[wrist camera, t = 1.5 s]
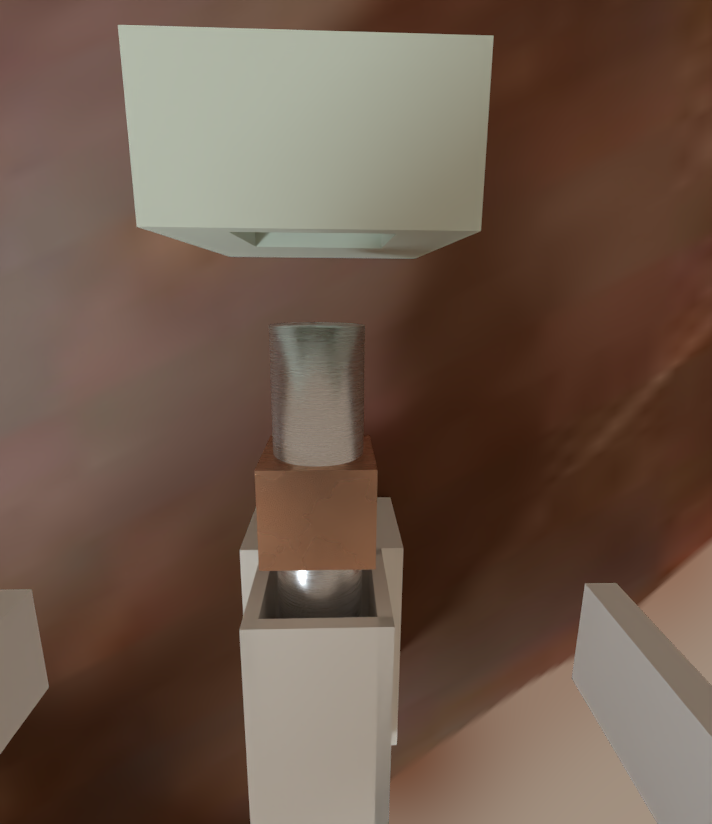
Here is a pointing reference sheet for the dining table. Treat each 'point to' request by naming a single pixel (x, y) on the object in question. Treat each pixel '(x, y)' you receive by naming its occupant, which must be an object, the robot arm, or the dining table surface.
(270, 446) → the tube
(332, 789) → the sleeve
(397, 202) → the socket block
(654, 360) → the dining table surface
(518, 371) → the dining table surface
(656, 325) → the dining table surface
